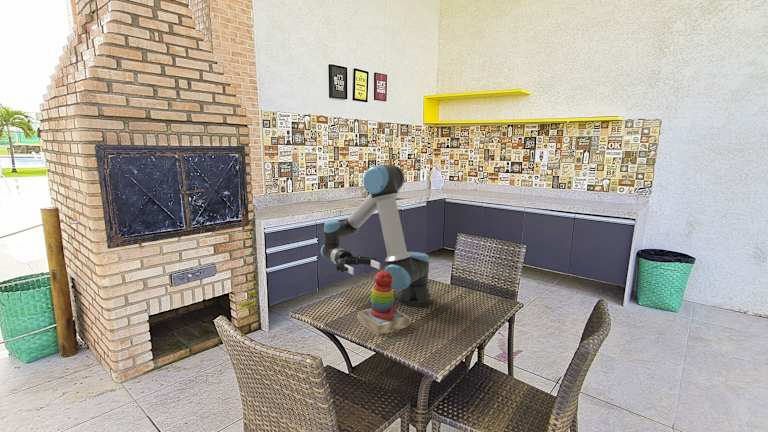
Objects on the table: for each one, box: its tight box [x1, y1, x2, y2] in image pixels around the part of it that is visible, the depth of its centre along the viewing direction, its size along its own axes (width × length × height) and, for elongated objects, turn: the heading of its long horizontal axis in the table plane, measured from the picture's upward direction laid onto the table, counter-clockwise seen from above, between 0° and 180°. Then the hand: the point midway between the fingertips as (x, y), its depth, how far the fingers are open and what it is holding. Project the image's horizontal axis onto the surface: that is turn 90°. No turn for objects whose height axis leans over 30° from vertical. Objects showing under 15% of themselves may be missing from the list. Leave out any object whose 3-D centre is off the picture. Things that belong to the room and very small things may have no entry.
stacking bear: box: [370, 269, 397, 320], centre depth 153 cm, size 11×10×18 cm
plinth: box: [356, 307, 410, 337], centre depth 155 cm, size 15×15×4 cm
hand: (366, 268), depth 161 cm, fingers open, 13 cm apart
